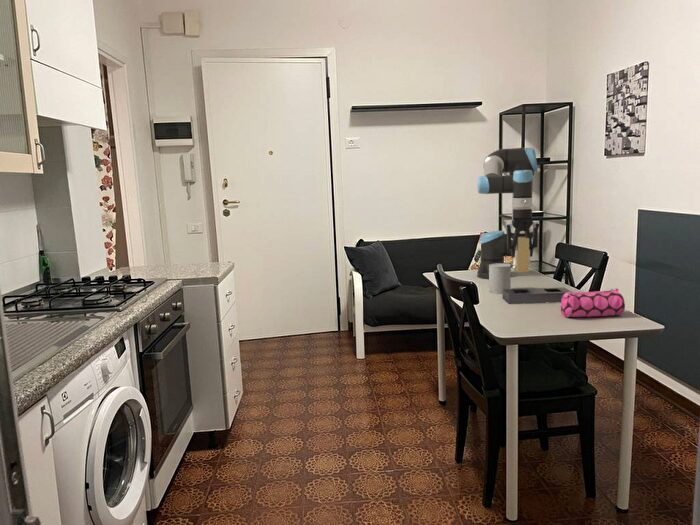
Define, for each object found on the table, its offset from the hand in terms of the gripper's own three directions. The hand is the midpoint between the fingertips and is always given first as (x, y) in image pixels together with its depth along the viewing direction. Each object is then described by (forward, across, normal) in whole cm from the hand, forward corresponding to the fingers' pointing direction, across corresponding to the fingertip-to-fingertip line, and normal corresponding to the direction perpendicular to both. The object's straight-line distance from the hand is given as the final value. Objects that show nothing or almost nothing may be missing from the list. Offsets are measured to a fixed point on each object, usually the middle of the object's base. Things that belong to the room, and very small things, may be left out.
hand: (521, 264), depth 221 cm
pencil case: (+16, +18, -26) cm, 35 cm away
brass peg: (+3, 0, 0) cm, 3 cm away
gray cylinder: (+15, -4, +18) cm, 24 cm away
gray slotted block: (+15, +6, 0) cm, 17 cm away
